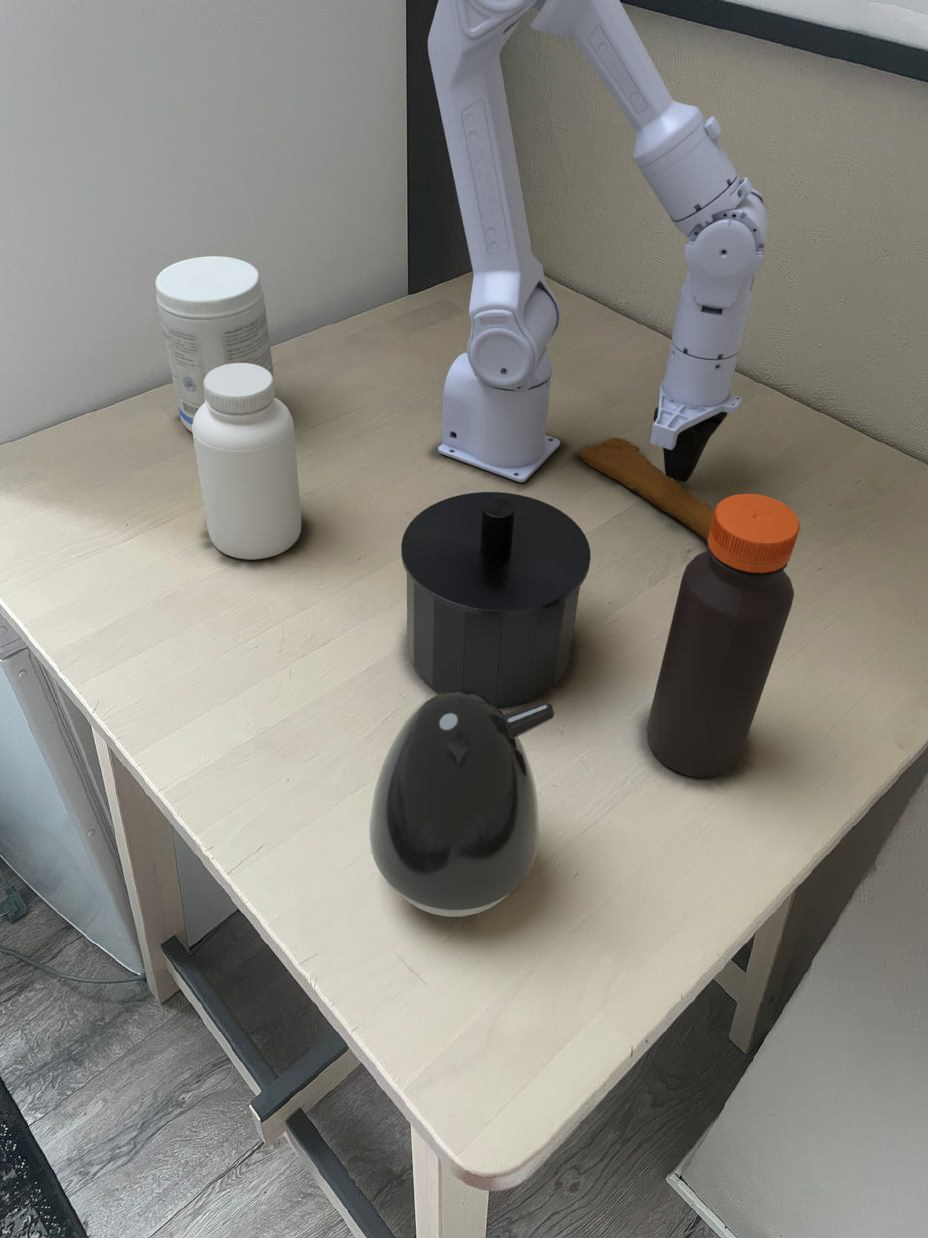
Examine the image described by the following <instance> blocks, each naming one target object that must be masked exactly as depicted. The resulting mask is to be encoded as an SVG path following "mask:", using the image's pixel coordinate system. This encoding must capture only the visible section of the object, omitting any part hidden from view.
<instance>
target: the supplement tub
mask: <svg viewBox="0 0 928 1238" xmlns="http://www.w3.org/2000/svg"><path fill="white" fill-rule="evenodd" d="M155 290H156V297H155V298H156V302H157V309H158V313H159V319H160V323H161V329H162V333H163V339H164V343H165V349H166V353H167V359H168V364H169V368H170V373H171V378H172V384H173V388H174V389H173V390H174V393H175V400H176V404H177V408H178V412H179V417H180V420H181V422H182V425H184V427H185V428H186V429H187V430H188V431H189V432H191V433H192V434H193V432H192V424H193V419H194V416H195V414H196V412H197V410H198V409H199V408H200V407H201V406H202V405H203V404H204V403H205V399H206V398H205V392H204V384H203V383H204V379H205V377H206V375H207V374H208V373H209V372H210V371H212V370H213V369H215V368H217V367H220V366H223V365H226V364H232V363H249V364H254V365H258V366H261V367H263V368H265V369H266V370H268V371H269V372H270V373H271V375H272V376H273V379H274V390H275V396H274V397H275V398H277V389H276V381H275V373H274V368H273V367H274V366H273V365H274V364H273V357H272V349H271V342H270V333H269V324H268V317H267V309H266V303H265V301H266V300H265V294H264V291H263V290H264V289H263V286H262V284H261V277H260V273H259V271H258V269H257V268H256V267H255V266H254V265H252V264H251V263H249V262H247V261H246V260H242V259H239V258H235V257H231V256H230V257H229V256H219V255H218V256H217V255H214V256H213V255H210V256H209V255H208V256H198V257H192V258H188V259H183V260H180V261H178V262H175V263H172V264H170V265H169V266H167V267H165V268H164V269H162V271H160V272H159V274H158V275H156V278H155Z"/></svg>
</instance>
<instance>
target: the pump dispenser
mask: <svg viewBox="0 0 928 1238" xmlns="http://www.w3.org/2000/svg"><path fill="white" fill-rule="evenodd" d="M554 717H555V710H554V708H553V704H552V703H551V702H550V701H548V700H543V701H541V702H540V701H539V702H538V703H534V704H532V705H529V706H525V707H523V708H519V709H516V710H513V711H509V712H507V713H504V712H503V711H501V709H500V708H499V707H496V706H495V705H494V704H493V703H492V702H490V701H489V700H488V699H487V698H485V697H484V696H482V695H480V694H478V693H475V692H472V691H468V690H449V691H444V692H441V693H436V694H434V695H432V696H431V697H429V698H427V699H426V700H424V701H423V702H422V703H421V704H420V705H419V706H417V707H416V709H415V710H413V712H411V714H410V715H409V716H408V718H407V719H406V720H405V722H404V723H403V724H402V726H401V728H400V729H399V731H398V733H397V734H396V736H395V737H394V739H393V741H392V743H391V745H390V747H389V749H388V751H387V754H386V756H385V758H384V760H383V763H382V765H381V768H380V771H379V773H378V777H377V779H376V784H375V788H374V793H373V798H372V802H371V808H370V809H371V810H370V816H369V828H368V830H369V845H370V851H371V855H372V858H373V861H374V863H375V866H376V867H377V869H378V871H379V873H380V874H381V876H382V877H383V879H385V881H386V882H387V883H388V884H389V885H390V886H391V887H392V888H393V889H394V890H395V892H397V893H398V895H399V896H401V897H402V898H403V899H404V900H405V901H406V902H407V903H409V904H411V905H412V906H414V907H416V908H417V909H420V910H422V911H424V912H426V913H429V914H433V915H437V916H441V917H454V918H457V917H467V916H471V915H476V914H479V913H482V912H484V911H486V910H489V909H491V908H493V907H494V906H496V905H497V904H499V903H500V902H502V901H503V900H504V899H505V898H506V897H508V896H510V894H511V893H512V892H513V891H515V889H517V888H518V887H519V886H520V885H521V883H523V881H524V880H525V879H526V877H527V876H528V875H529V873H530V871H531V870H532V867H533V865H534V863H535V861H536V857H537V853H538V848H539V841H540V811H539V801H538V794H537V788H536V781H535V778H534V773H533V771H532V770H533V769H532V767H531V764H530V761H529V758H528V755H527V753H526V751H525V748H524V746H523V744H522V742H521V740H520V738H519V737H520V736H522V735H524V734H527V733H528V732H530V731H532V730H534V729H536V728H538V727H540V726H541V725H544V724H546V723H547V722H550V721H551V720H553V719H554Z"/></svg>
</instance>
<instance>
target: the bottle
mask: <svg viewBox="0 0 928 1238" xmlns="http://www.w3.org/2000/svg"><path fill="white" fill-rule="evenodd" d="M714 510H715V511H714V515H713V519H712V523H711V527H710V532H709V536H708V542H707V544H706V549H707V550H706V551H703V552H702V553H699V554H697V555H696V556H694V558H693V559H691V560H690V561H689V562H688V563H687V564H686V567H685V569H684V571H683V574H682V577H681V580H680V584H679V589H678V593H677V597H676V602H675V606H674V609H673V614H672V618H671V624H670V628H669V631H668V635H667V640H666V644H665V649H664V653H663V657H662V660H661V665H660V669H659V675H658V678H657V683H656V688H655V691H654V695H653V700H652V704H651V708H650V711H649V712H650V713H649V717H648V721H647V725H646V728H645V729H646V739H647V740H646V741H647V744H648V746H649V748H650V750H651V752H652V754H653V755H654V756H655V757H656V758H657V760H659V761H660V762H661V763H662V764H663V765H665V766H666V767H668V768H669V769H671V770H673V771H674V772H677V773H680V774H682V775H686V776H689V777H695V778H710V777H715V776H720V775H722V774H724V773H726V772H728V771H729V770H732V769H733V768H734V766H735V765H736V764H737V762H738V761H739V760H740V759H741V756H742V753H743V750H744V748H745V745H746V742H747V740H748V739H747V738H748V736H749V733H750V731H751V727H752V724H753V722H754V718H755V715H756V712H757V710H758V706H759V703H760V700H761V698H762V694H763V692H764V689H765V686H766V682H767V679H768V677H769V674H770V671H771V668H772V665H773V662H774V659H775V656H776V654H777V650H778V647H779V645H780V642H781V638H782V636H783V633H784V630H785V627H786V624H787V621H788V618H789V615H790V612H791V609H792V605H793V601H794V599H795V591H794V587H793V584H792V580H791V578H790V577H789V575H788V574H787V573H786V572H785V569H786V568H787V567H788V563H789V562H790V560H791V557H792V555H793V551H794V548H795V546H796V542H797V538H798V536H799V533H800V530H801V524H800V523H801V521H800V519H799V517H797V515H796V512H794V510H792V508H790V507H789V506H787V505H786V504H784V503H783V502H781V501H779V500H778V499H775V498H772V497H769V496H766V495H762V494H757V493H740V494H734V495H731V496H728V497H725V498H724V499H721V501H719V502H718V503H717V505H716V507H715V509H714Z"/></svg>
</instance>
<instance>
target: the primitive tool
mask: <svg viewBox="0 0 928 1238" xmlns="http://www.w3.org/2000/svg"><path fill="white" fill-rule="evenodd" d="M577 457H578V458H579V459H580V460H582V461H583V463H585V464H587V465H588V466H590V467H592V468H593V469H595V470H596V471H599V472H601V473H603V474H604V475H606V476H607V477H610V478H611V479H613V480H616V481H617V482H618V483H620V484H622V485H624V486H625V487H626V488H627V489H628V488H629V489H630V490H632V491H633V492H634V493H637V494H638V495H640V496H641V497H642V498H643V499H645V500H647V501H648V502H649V503H651V504H653V505H654V506H656V507H658V508H659V509H660V510H662V511H663V512H664V513H666V514H667V515H670V516H671V517H673V518H676V519H677V520H678V521H680V522H681V523H683V524H684V525H686V526H687V527H689V528H690V529H691V530H692V531H693V532H695V533H696V534H698V535H699V536H700V537H702V538H703V539H704V540H705V541H706V543H708V536H709V532H710V527H711V523H712V519H713V515H714V511H715V509H713V508H712V507H711V506H710V505H709V504H708V503H707V502H703V501H701V500H700V499H698V498H697V497H695V496H694V495H693V494H692V493H691V492H689V491H688V490H687V489H686V488H685V487H683V485H680V484H679V483H677V482H676V480H675V479H672V478H670V477H668V476H667V475H666V474H665V472H664V471H662V470H660V469H659V468H658V467H657V465H654V464H653V463H652V462H651V460H649V459H648V458H647V457H646V456H645V455H643V454H642V452H640V447H638V446H637V445H635V444H632V443H631V442H630V441H629V440H627V439H624V438H621V437H612V438H609V439H608V440H606V441H603V442H600V443H598V444H595V445H592V446H589V447H587V448H584V449H581V450H580V451H578V453H577Z"/></svg>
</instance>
